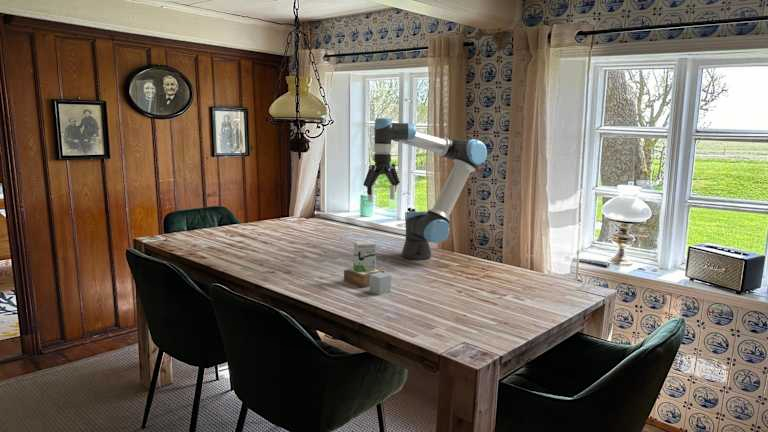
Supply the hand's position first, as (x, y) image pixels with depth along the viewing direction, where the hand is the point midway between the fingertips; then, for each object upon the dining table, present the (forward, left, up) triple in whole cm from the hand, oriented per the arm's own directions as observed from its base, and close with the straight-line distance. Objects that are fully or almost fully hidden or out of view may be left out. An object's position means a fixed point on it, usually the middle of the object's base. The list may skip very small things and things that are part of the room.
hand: (381, 200), depth 241 cm
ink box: (+20, +11, -27) cm, 35 cm away
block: (+24, +25, -32) cm, 47 cm away
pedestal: (+20, +11, -32) cm, 39 cm away
